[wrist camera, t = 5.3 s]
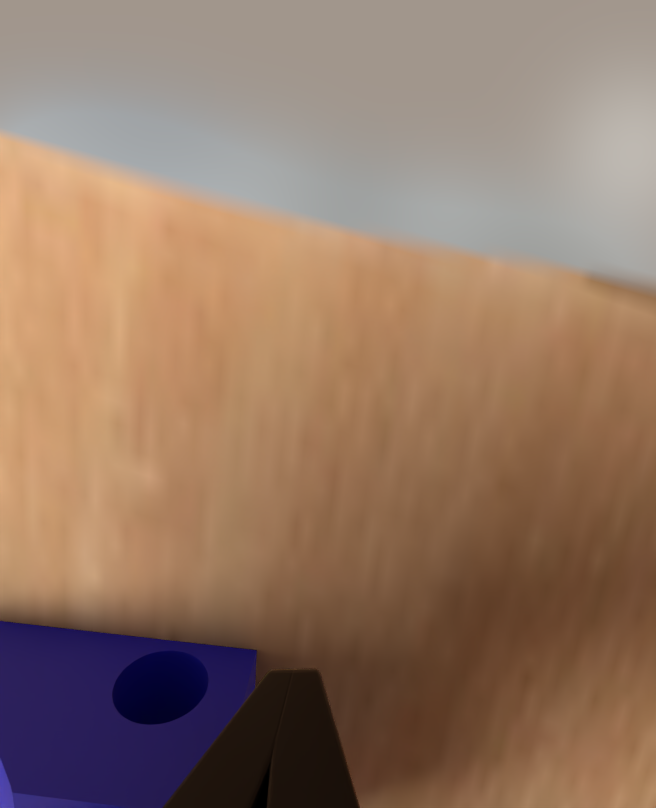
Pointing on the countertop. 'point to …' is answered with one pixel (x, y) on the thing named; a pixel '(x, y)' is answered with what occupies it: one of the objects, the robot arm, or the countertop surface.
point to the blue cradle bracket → (109, 714)
